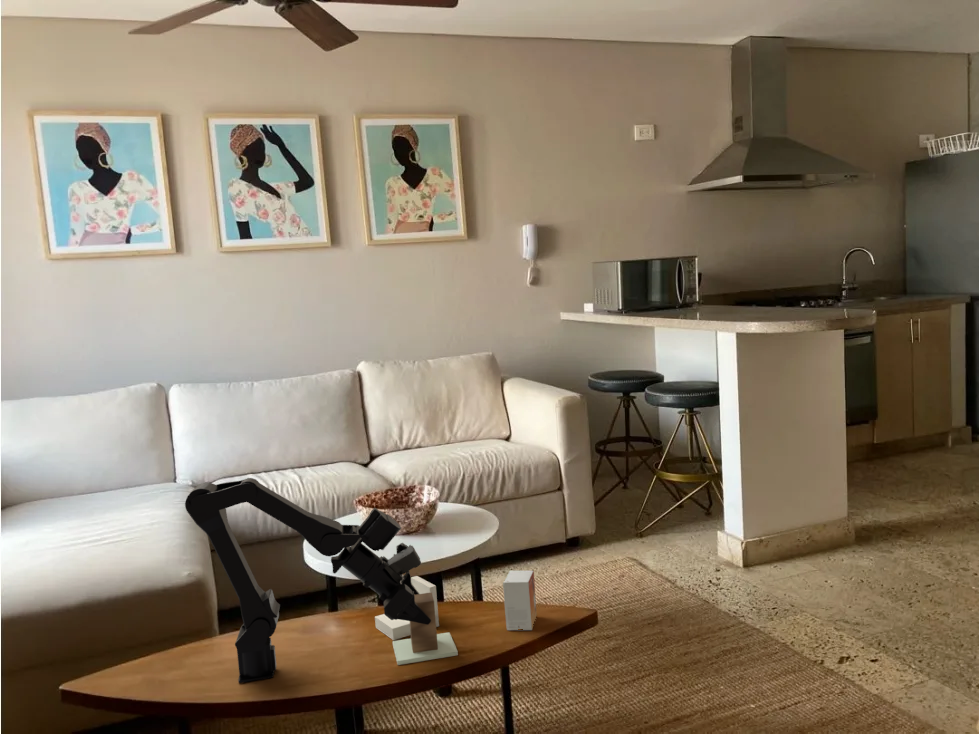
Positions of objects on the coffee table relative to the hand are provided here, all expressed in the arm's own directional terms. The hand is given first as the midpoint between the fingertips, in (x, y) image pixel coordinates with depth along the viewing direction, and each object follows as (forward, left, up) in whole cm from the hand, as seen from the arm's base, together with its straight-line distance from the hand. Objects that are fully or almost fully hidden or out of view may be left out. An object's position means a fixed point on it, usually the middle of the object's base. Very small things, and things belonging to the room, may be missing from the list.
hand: (427, 614), depth 162 cm
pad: (-1, 0, -7) cm, 7 cm away
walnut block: (-1, 0, -7) cm, 7 cm away
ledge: (-3, +14, -7) cm, 16 cm away
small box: (+21, +6, -8) cm, 23 cm away
